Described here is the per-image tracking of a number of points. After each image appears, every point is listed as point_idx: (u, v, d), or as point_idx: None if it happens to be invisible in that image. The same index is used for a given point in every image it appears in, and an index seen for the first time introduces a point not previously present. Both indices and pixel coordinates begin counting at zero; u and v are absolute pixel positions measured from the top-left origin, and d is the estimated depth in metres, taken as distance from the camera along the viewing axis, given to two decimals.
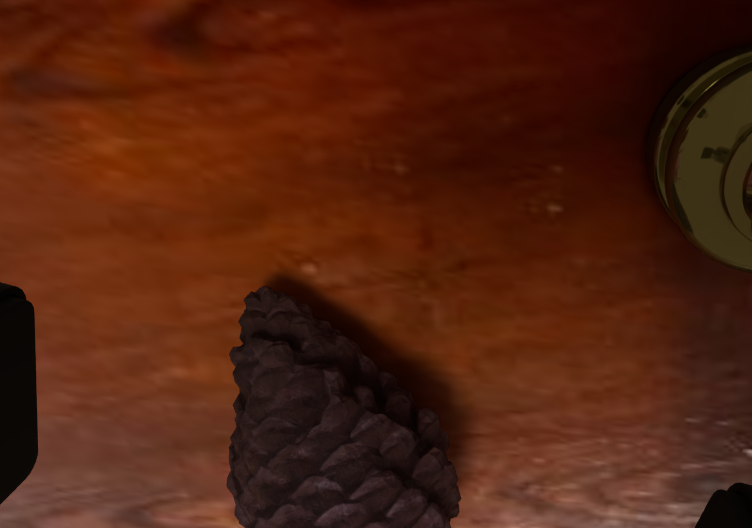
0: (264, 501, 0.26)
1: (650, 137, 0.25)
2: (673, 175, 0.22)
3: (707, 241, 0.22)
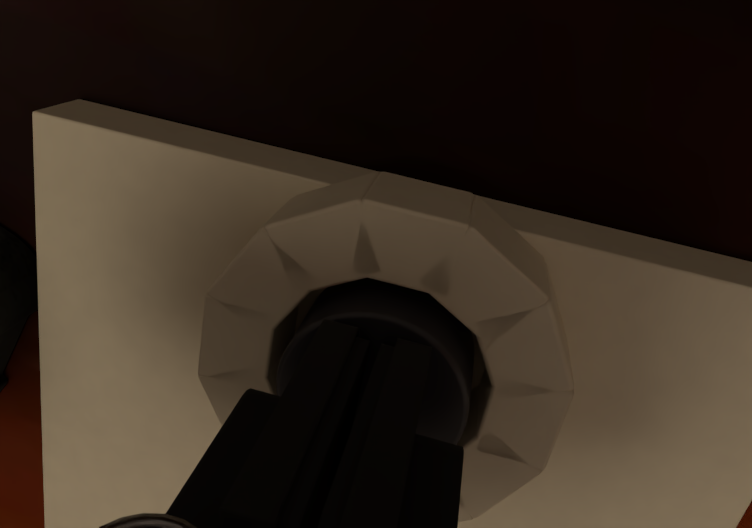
0: None
1: None
2: None
3: None
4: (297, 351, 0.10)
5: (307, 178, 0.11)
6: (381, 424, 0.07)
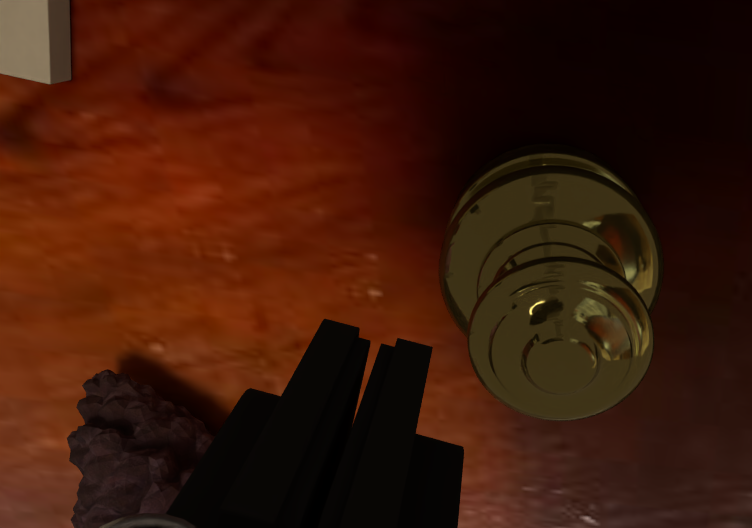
0: None
1: None
2: (442, 281, 0.23)
3: None
4: None
5: None
6: (381, 424, 0.07)
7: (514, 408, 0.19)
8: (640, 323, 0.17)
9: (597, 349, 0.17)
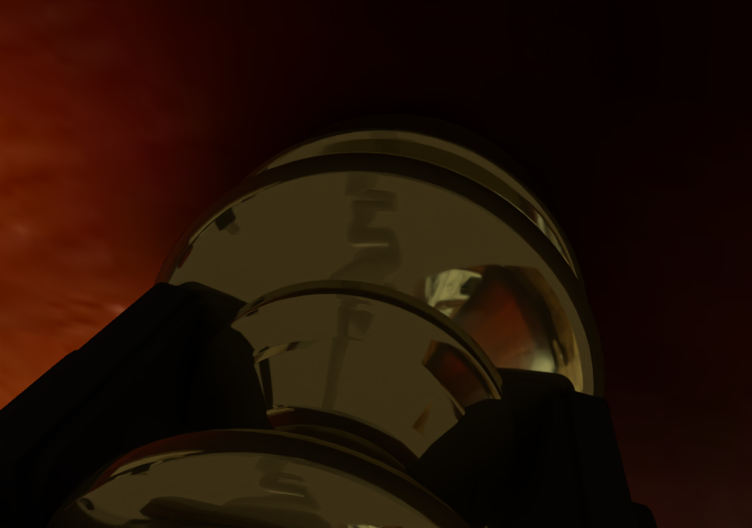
0: None
1: None
2: None
3: None
4: None
5: None
6: (594, 492, 0.07)
7: None
8: None
9: None
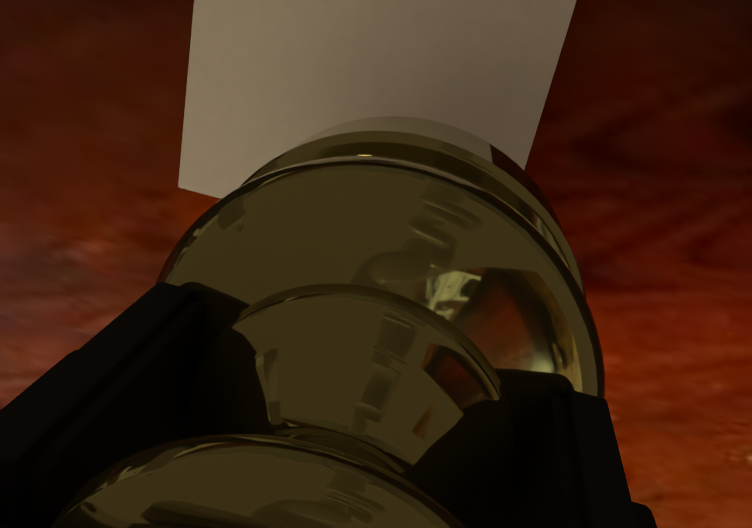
0: None
1: None
2: None
3: None
4: None
5: None
6: (594, 492, 0.07)
7: None
8: None
9: None
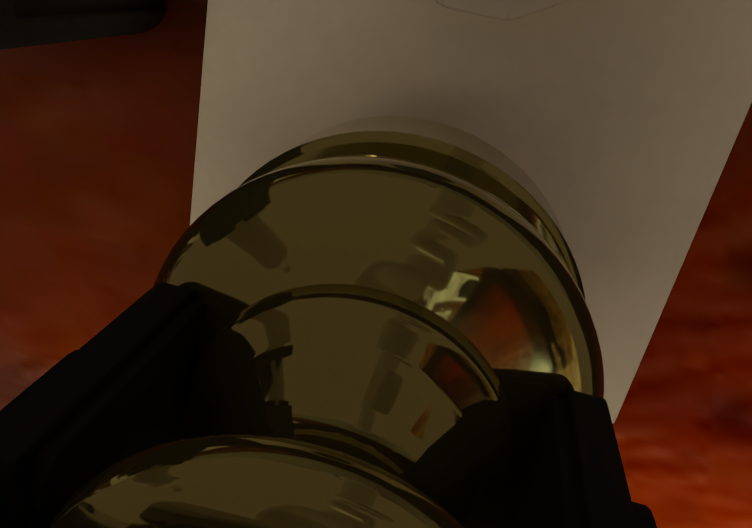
0: None
1: None
2: None
3: None
4: None
5: None
6: (594, 492, 0.07)
7: None
8: None
9: None
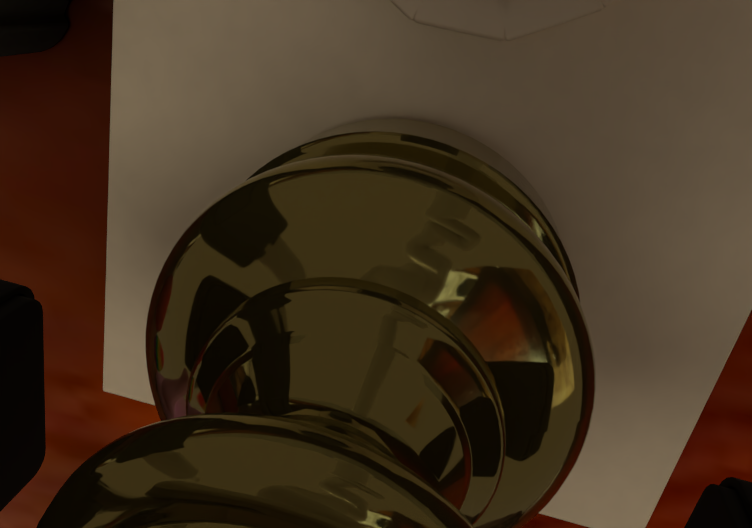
0: None
1: None
2: (151, 390, 0.11)
3: None
4: None
5: None
6: None
7: None
8: None
9: None
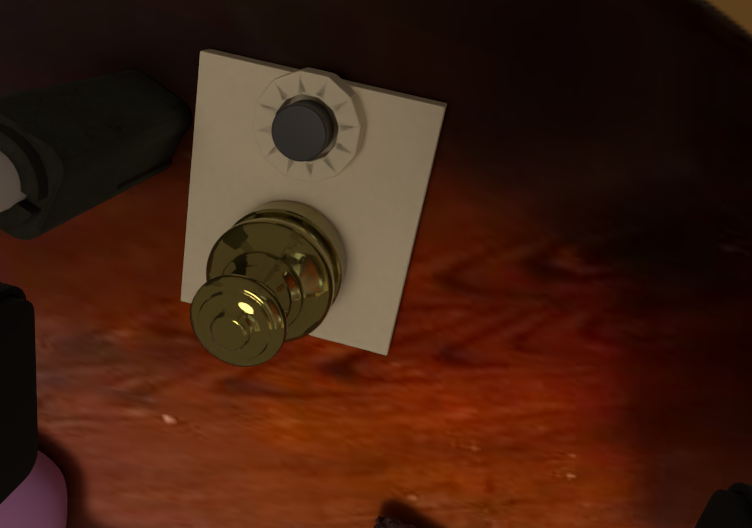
0: None
1: None
2: None
3: None
4: (277, 118, 0.34)
5: (286, 70, 0.36)
6: None
7: (219, 359, 0.33)
8: (272, 311, 0.31)
9: (247, 324, 0.31)
